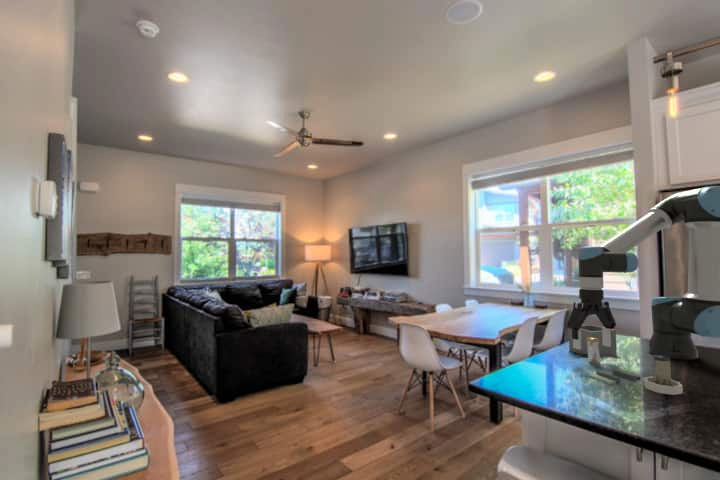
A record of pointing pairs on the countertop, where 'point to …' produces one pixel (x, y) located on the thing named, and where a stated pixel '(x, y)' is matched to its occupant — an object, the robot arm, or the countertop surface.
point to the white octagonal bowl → (663, 386)
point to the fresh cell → (593, 350)
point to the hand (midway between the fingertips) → (592, 347)
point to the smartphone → (581, 353)
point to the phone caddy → (594, 333)
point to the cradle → (616, 377)
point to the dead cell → (662, 370)
